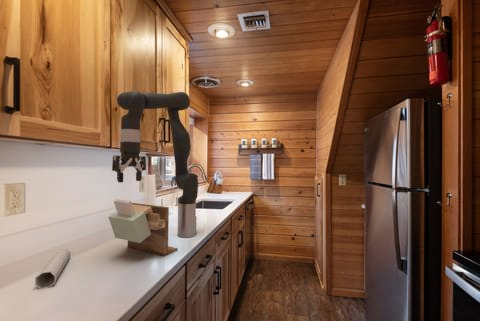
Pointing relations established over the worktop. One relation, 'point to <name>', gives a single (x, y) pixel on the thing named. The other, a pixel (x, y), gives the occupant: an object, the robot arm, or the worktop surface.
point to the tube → (52, 269)
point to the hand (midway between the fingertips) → (129, 181)
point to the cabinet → (130, 221)
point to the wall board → (155, 233)
